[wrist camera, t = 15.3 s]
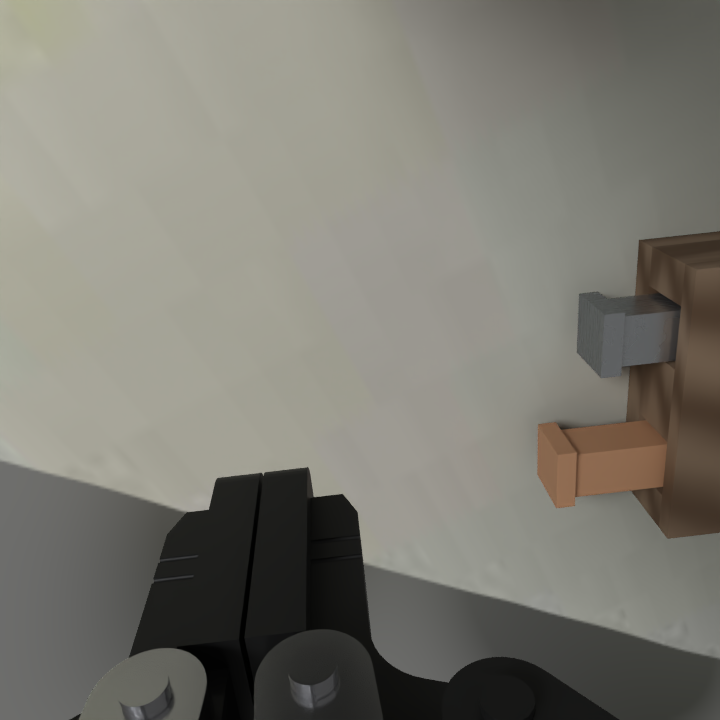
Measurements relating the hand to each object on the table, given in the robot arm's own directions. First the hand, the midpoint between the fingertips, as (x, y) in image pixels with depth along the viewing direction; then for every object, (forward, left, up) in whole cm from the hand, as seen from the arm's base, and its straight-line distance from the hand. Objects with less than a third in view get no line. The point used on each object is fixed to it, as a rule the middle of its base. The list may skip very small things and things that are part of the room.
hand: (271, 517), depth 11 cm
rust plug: (+19, +21, -30) cm, 41 cm away
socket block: (+14, +26, -32) cm, 43 cm away
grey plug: (+10, +23, -30) cm, 39 cm away
